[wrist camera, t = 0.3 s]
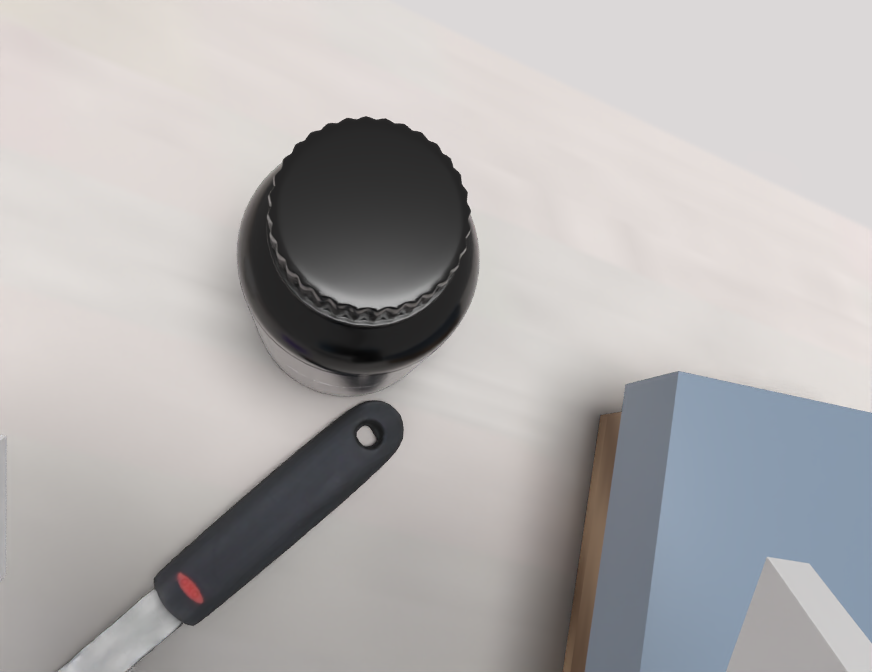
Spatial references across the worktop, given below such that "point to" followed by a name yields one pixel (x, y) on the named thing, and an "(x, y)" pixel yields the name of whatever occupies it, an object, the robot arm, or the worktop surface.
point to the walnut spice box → (592, 544)
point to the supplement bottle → (358, 256)
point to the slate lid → (724, 517)
